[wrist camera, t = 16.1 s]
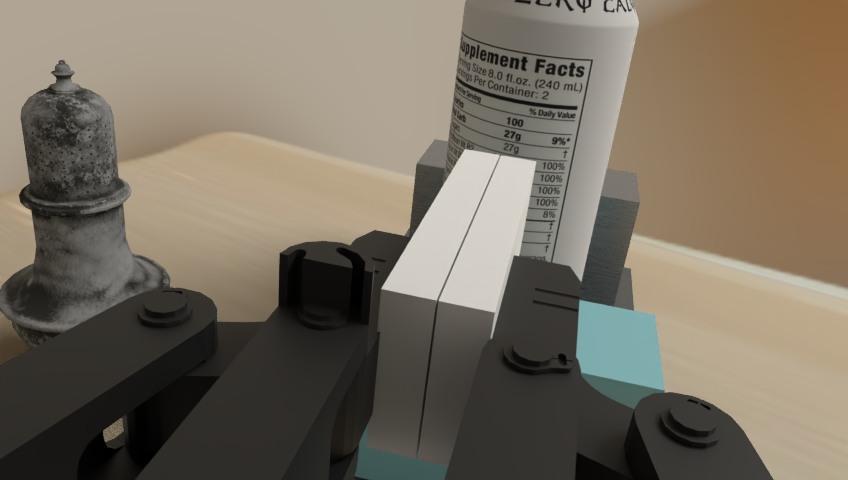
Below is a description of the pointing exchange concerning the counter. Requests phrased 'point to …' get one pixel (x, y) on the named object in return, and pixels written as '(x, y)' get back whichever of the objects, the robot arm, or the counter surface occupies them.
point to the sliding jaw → (600, 366)
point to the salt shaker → (73, 217)
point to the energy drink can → (545, 106)
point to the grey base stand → (608, 240)
